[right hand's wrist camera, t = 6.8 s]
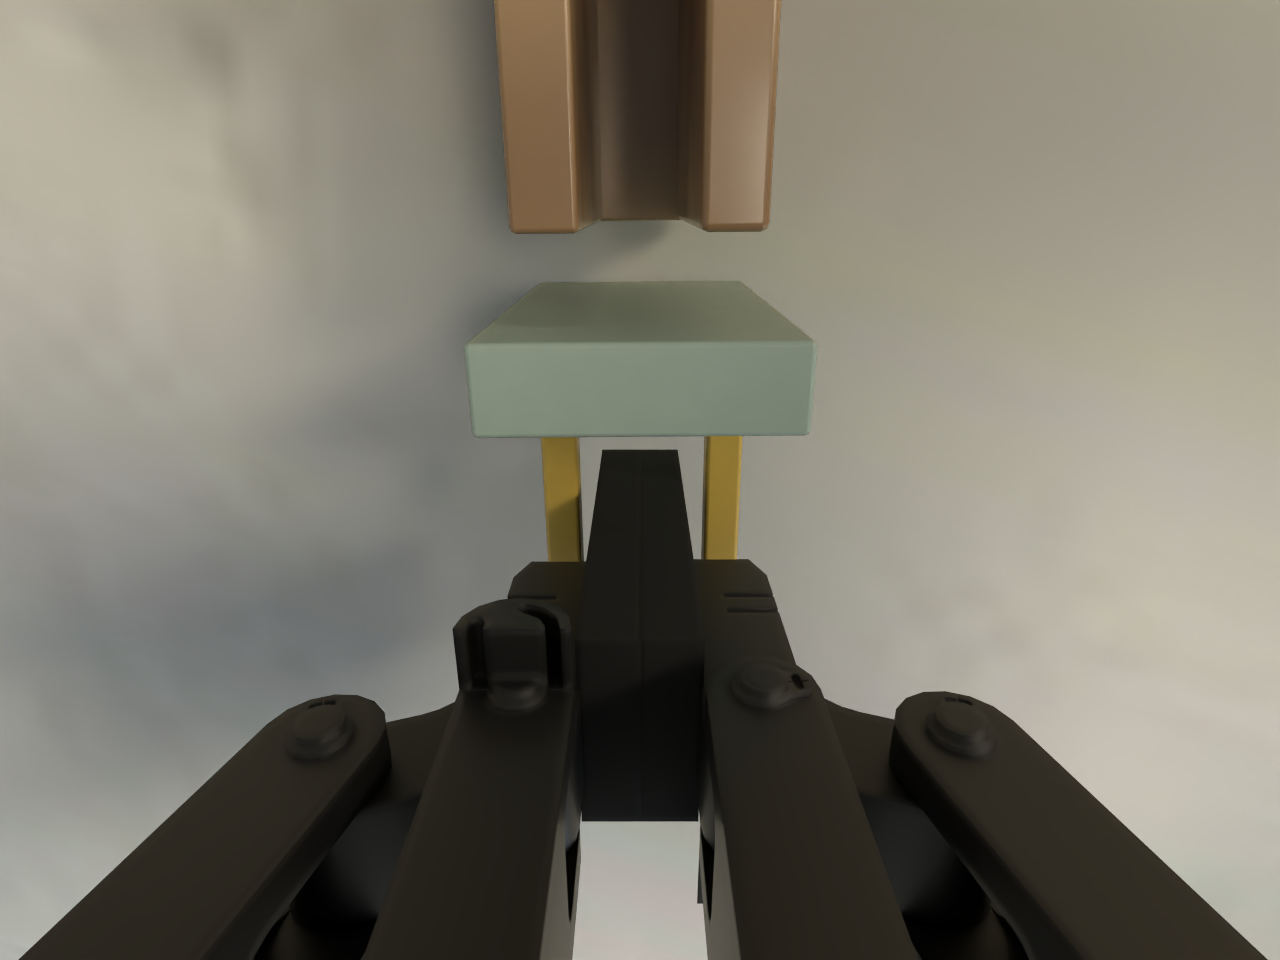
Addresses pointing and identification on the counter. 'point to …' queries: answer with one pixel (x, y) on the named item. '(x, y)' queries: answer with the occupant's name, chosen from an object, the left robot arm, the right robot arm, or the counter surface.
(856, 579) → the counter surface
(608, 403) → the drawer
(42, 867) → the counter surface
